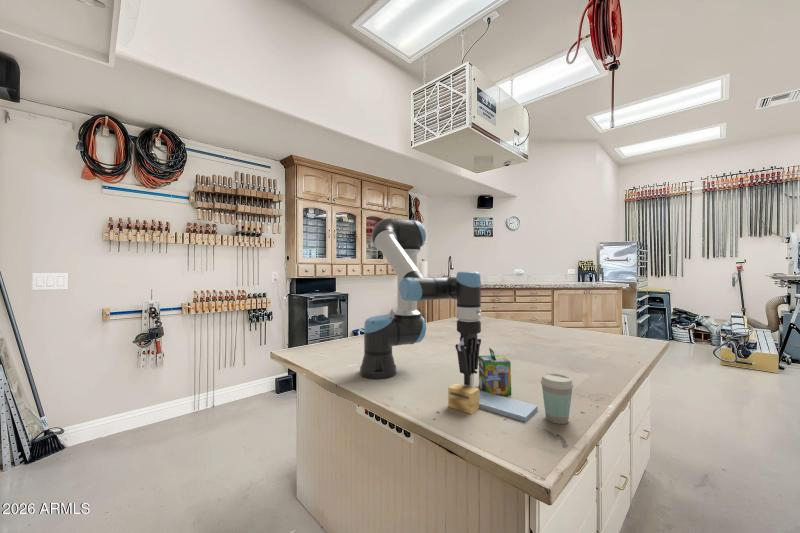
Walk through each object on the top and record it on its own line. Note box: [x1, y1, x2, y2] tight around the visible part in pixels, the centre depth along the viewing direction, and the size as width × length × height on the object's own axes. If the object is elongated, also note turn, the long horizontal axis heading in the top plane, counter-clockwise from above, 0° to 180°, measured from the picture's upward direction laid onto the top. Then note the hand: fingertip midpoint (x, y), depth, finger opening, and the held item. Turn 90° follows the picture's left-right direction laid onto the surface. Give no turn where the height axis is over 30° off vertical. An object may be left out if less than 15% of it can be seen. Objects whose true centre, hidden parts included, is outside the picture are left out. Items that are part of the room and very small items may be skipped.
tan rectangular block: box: [447, 382, 480, 415], centre depth 99 cm, size 8×5×6 cm, turn 49°
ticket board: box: [479, 389, 539, 423], centre depth 102 cm, size 24×10×2 cm, turn 49°
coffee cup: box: [540, 372, 574, 425], centre depth 92 cm, size 8×8×12 cm
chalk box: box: [478, 347, 512, 396], centre depth 114 cm, size 9×9×15 cm
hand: (468, 393), depth 102 cm, fingers closed
